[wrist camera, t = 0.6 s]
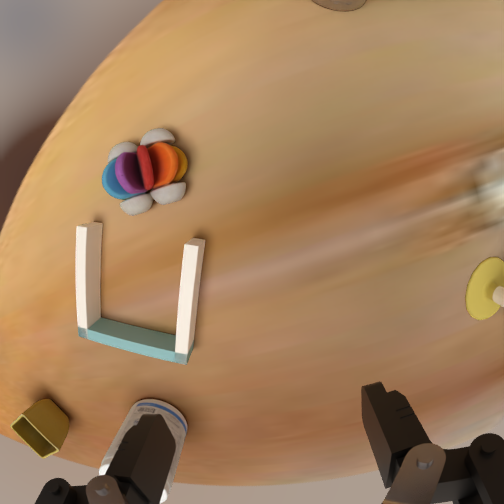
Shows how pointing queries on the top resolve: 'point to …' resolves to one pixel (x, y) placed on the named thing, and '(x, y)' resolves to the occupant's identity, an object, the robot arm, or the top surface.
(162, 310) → the top surface
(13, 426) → the flower pot
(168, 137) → the multicoloured petal flower toy
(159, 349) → the bay
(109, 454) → the supplement tub
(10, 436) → the top surface
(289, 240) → the top surface
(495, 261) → the candle
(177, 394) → the top surface
